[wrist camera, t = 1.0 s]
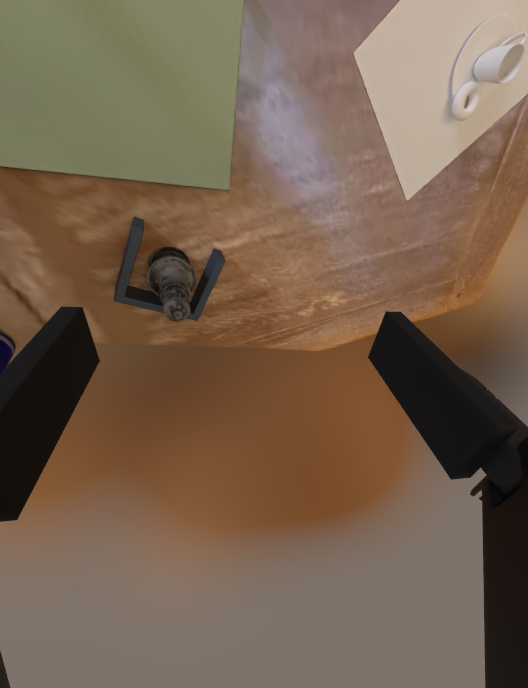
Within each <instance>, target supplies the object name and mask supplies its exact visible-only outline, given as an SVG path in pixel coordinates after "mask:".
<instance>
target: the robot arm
mask: <svg viewBox="0 0 528 688" xmlns="http://www.w3.org/2000/svg"><path fill="white" fill-rule="evenodd" d="M368 358H369V359H370V361H371V362H372V364H373V365H374V367H375V368H376V370H377V371H378V373H379V374H380V376H381V377H382V378H383V380H384V381H385V383H386V384H387V386H388V387H389V389H390V390H391V392H392V393H393V395H394V396H395V398H396V399H397V401H398V402H399V403H400V405H401V406H402V408H403V409H404V411H405V412H406V414H407V415H408V416H409V418H410V420H411V421H412V423H413V424H414V426H415V427H416V428H417V430H418V431H419V433H420V434H421V436H422V437H423V439H424V440H425V442H426V443H427V445H428V446H429V447H430V449H431V450H432V452H433V453H434V455H435V456H436V458H437V459H438V461H439V462H440V464H441V465H442V467H443V468H444V470H445V471H446V473H447V474H448V475H449V477H450V478H451V479H460V478H470V477H471V476H473V474H475V472H476V471H477V470H478V469H479V468H480V467H481V468H482V470H483V471H484V472H485V473H486V475H487V476H485V477H484V478H483V479H482V480H481V481H480V482H479V483H478V484H477V485H476V486H475V487H474V488H473V489H472V491H471V495H472V496H475V495H476V494H477V493H478V492H479V491H480V490H481V491H482V496H481V497H480V498H479V499H480V500H482V511H483V512H482V513H483V571H484V628H485V682H486V683H485V686H486V687H485V688H528V427H527V426H526V425H525V424H524V423H523V422H522V421H521V420H520V419H519V418H518V417H517V416H515V415H514V414H513V413H512V412H511V411H510V410H509V409H508V408H507V407H506V406H505V405H504V404H503V403H502V402H500V401H499V400H498V399H496V398H495V396H494V395H493V394H492V393H491V392H490V391H489V390H486V389H487V388H486V387H485V386H484V385H482V384H481V383H480V382H479V381H478V380H477V379H476V378H475V377H473V376H471V375H470V374H468V373H467V372H465V371H463V370H461V369H460V368H459V367H458V366H456V365H455V364H454V363H453V362H452V361H451V360H450V359H449V358H448V357H447V356H446V355H445V354H444V353H443V352H442V351H441V350H440V349H439V348H438V347H437V346H436V345H435V344H434V343H433V342H432V341H430V340H429V339H428V338H427V337H426V336H425V335H424V334H423V333H422V332H421V331H420V330H419V329H418V328H417V327H416V326H415V325H414V324H413V323H412V322H411V321H410V320H409V319H408V318H407V317H406V316H405V315H403V314H402V313H401V312H386V313H385V315H384V318H383V320H382V323H381V325H380V328H379V331H378V333H377V336H376V338H375V341H374V343H373V346H372V348H371V351H370V354H369V356H368ZM99 361H100V360H99V358H98V354H97V351H96V348H95V345H94V342H93V339H92V335H91V332H90V329H89V326H88V323H87V320H86V317H85V314H84V311H83V308H82V307H61V308H60V309H59V310H58V311H57V312H56V313H55V314H54V315H53V316H52V318H51V319H50V320H49V321H48V322H47V323H46V324H45V325H44V326H43V327H42V329H41V330H40V331H39V332H38V333H37V334H36V335H35V336H34V337H33V338H32V340H31V341H30V342H29V343H28V344H27V345H26V346H25V347H24V348H23V349H22V351H21V352H20V353H19V354H18V355H17V356H16V357H15V358H14V359H13V360H12V362H11V363H10V364H9V365H8V366H7V367H6V368H5V369H4V370H3V371H2V373H1V374H0V522H1V521H11V520H17V519H18V517H19V515H20V513H21V511H22V509H23V507H24V506H25V503H26V502H27V500H28V498H29V496H30V494H31V492H32V490H33V488H34V486H35V484H36V483H37V481H38V479H39V477H40V475H41V473H42V471H43V469H44V467H45V465H46V463H47V461H48V459H49V458H50V456H51V454H52V452H53V450H54V448H55V446H56V444H57V442H58V440H59V438H60V436H61V434H62V433H63V431H64V429H65V427H66V425H67V423H68V421H69V419H70V417H71V415H72V413H73V411H74V409H75V408H76V405H77V404H78V402H79V400H80V397H81V396H82V394H83V392H84V390H85V388H86V386H87V384H88V382H89V381H90V378H91V377H92V374H93V373H94V371H95V369H96V367H97V365H98V363H99ZM0 688H10V685H9V681H8V678H7V674H6V670H5V666H4V663H3V659H2V655H1V652H0Z"/></svg>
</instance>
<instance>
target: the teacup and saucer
mask: <svg viewBox="0 0 528 688" xmlns="http://www.w3.org/2000/svg"><path fill="white" fill-rule="evenodd" d="M521 38H523V39H522V40H521V41H520V42H517V40H518V39H521ZM527 42H528V33H527V32H526V31H521V32H518V33H517V27H516V23H515V21H514V20H513V18H512V17H511V16H510V15H508V14H505V13H498V14H495V15H493V16H491V17H489V18H488V19H486V20H485V21H484V22H483V23H482V24H480V25H479V26H478V27H477V29H476V30H475V31H474V32H473V33H472V35H471V36H470V37H469V39H468V40H467V42H466V43H465V45H464V47H463V48H462V50H461V52H460V54H459V57H458V59H457V62H456V64H455V67H454V71H453V75H452V80H451V97H452V105H451V114H452V116H453V118H454V119H455V120H456V121H458V122H464V121H466V120H468V119H470V118H471V117H472V116H473V114H474V113H475V112H476V110H477V109H478V107H480V106H481V105H483V104H484V103H485V102H486V101H487V100H488V99H489V98H490V97H491V96H492V95H493V94H494V93H495V91H496V90H497V89H498V88H499V86H500V85H505V84H507V83H509V82H510V81H511V80H512V79H513V78H514V77H515V76H516V75H517V74H518V72H519V71H520V69H521V67H522V65H523V63H524V61H525V57H526V46H525V45H526V44H527ZM484 50H486V51H485V52H484V53H483V54H481V55H480V56H479V57H478V58H477V60H476V57H477V55H479V54H480V52H482V51H484ZM472 66H473V71H472V72H473V75H474V77H475V78H476V79H477V80H476V81H475V80H473V79H472V80H471V79H470V77H471V76H470V74H471V72H470V70H471V68H472Z"/></svg>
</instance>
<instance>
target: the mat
mask: <svg viewBox="0 0 528 688" xmlns="http://www.w3.org/2000/svg"><path fill="white" fill-rule="evenodd" d="M243 8H244V0H0V166H2V167H11V168H21V169H30V170H40V171H49V172H58V173H68V174H77V175H87V176H96V177H106V178H115V179H125V180H134V181H144V182H153V183H163V184H172V185H182V186H191V187H201V188H210V189H220V190H229V186H230V174H231V161H232V148H233V135H234V123H235V110H236V97H237V84H238V72H239V59H240V46H241V33H242V21H243Z"/></svg>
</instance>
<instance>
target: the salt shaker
mask: <svg viewBox="0 0 528 688" xmlns="http://www.w3.org/2000/svg"><path fill="white" fill-rule="evenodd" d="M147 282H148V286H149V287H150V289H151V290H152V291H153V292H154V293H155V294H156V295H158V297H159V300H160V302H161V303H162V304H163V310H164V313H165V315H166V317H167V318H168V319H170V320H172V321H181V320H184V319H185V318H187V317H188V316H189V314H190V309H191V308H190V303H189V301H190V298H191V291H192V290H193V289H194V287H195V285H196V274H195V271H194V269H193V268H192V266H191V265H190V261H189V259H188V257H187V256H186V255H185V253H183V252H182V251H181V250H179V249H176V248H172V247H164V248H161V249H158V250H157V251H155V252H154V253H153V254H152V255H151V257H150V260H149V269H148V272H147Z"/></svg>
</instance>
